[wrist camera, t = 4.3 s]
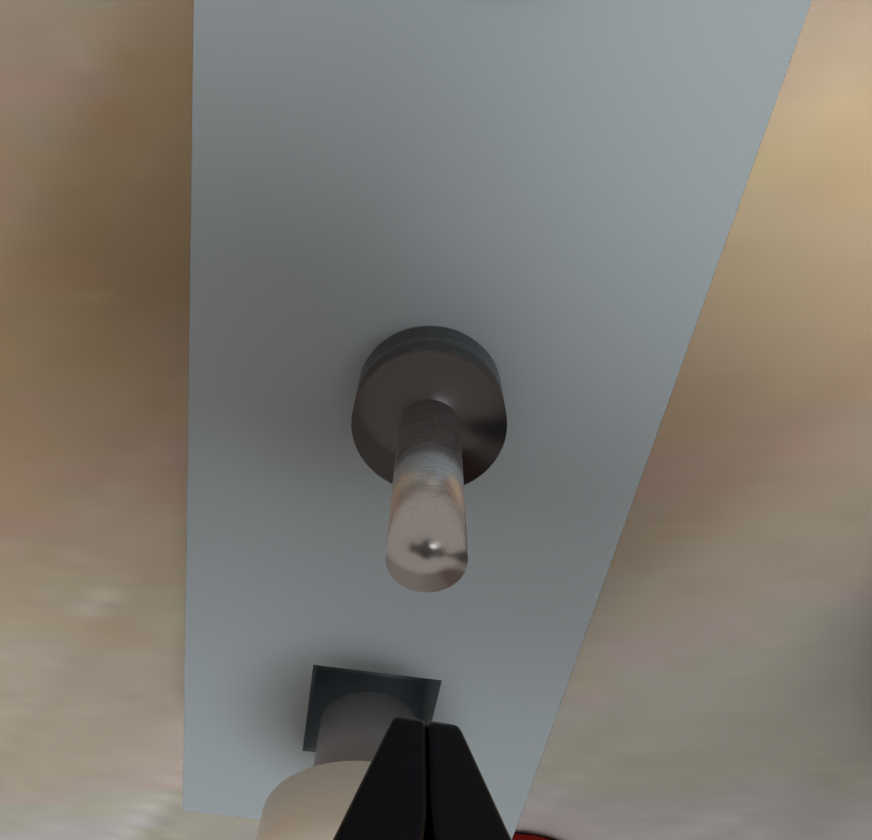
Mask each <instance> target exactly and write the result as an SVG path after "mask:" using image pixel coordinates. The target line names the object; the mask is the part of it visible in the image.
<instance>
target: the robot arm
mask: <svg viewBox="0 0 872 840" xmlns="http://www.w3.org/2000/svg"><path fill="white" fill-rule="evenodd" d="M333 840H511V838H510V835H509V833H508V831H507V829H506V827H505V825H504V822H503V820H502V818H501V816H500V814H499V811H498V809H497V807H496V805H495V803H494V801H493V798H492V796H491V794H490V792H489V790H488V788H487V785H486V783H485V781H484V779H483V777H482V774H481V772H480V770H479V768H478V766H477V764H476V761H475V759H474V757H473V755H472V753H471V751H470V748H469V746H468V744H467V742H466V740H465V737H464V735H463V733H462V731H461V730H460V728H459V727H458V726H456V725H454V724H448V723H441V722H435V721H430V722H428V723H427V724H426V725H425V722H424V721H423V720H421V719H416V718H409V717H403V716H396V717H394V718H393V719H392V721H391V722H390V724H389V726H388V728H387V730H386V732H385V734H384V736H383V739H382V741H381V743H380V745H379V747H378V749H377V751H376V753H375V755H374V757H373V759H372V761H371V763H370V765H369V767H368V769H367V771H366V773H365V775H364V777H363V779H362V781H361V783H360V785H359V787H358V789H357V791H356V794H355V796H354V798H353V800H352V802H351V804H350V806H349V808H348V810H347V812H346V814H345V816H344V818H343V820H342V822H341V824H340V826H339V828H338V830H337V832H336V834H335V836H334V838H333Z"/></svg>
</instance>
